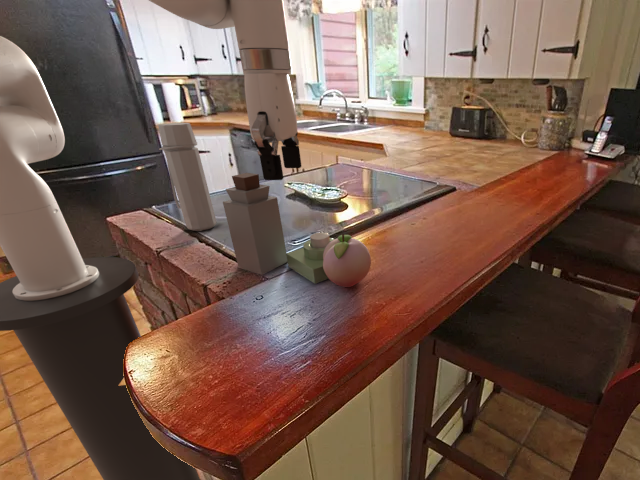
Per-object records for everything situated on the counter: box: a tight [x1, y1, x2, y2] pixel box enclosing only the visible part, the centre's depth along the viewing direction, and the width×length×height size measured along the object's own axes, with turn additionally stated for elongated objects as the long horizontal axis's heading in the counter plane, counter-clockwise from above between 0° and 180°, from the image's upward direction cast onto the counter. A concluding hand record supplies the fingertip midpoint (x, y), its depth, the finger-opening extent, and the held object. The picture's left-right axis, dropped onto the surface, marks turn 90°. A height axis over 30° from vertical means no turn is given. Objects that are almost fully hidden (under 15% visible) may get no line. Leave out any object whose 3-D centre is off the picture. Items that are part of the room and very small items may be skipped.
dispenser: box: [286, 237, 336, 285], centre depth 71 cm, size 10×10×5 cm
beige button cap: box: [309, 232, 331, 248], centre depth 69 cm, size 4×4×2 cm
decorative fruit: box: [323, 233, 372, 288], centre depth 63 cm, size 9×8×10 cm
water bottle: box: [157, 122, 218, 232], centre depth 88 cm, size 9×8×25 cm
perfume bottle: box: [222, 172, 288, 276], centre depth 69 cm, size 7×7×18 cm
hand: (284, 173), depth 65 cm, fingers open, 9 cm apart
